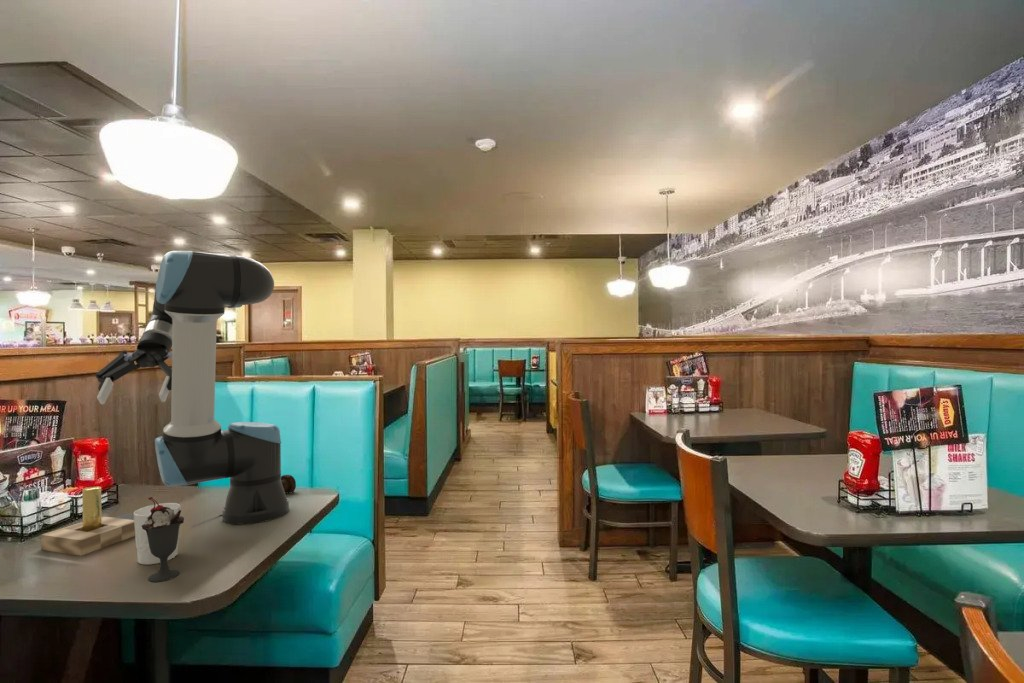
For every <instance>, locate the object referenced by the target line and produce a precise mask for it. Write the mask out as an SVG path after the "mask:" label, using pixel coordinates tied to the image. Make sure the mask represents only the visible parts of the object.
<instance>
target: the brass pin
mask: <svg viewBox="0 0 1024 683" xmlns="http://www.w3.org/2000/svg"><path fill="white" fill-rule="evenodd" d="M81 494H82V522H83V531H84V532H89V531H92V530H95V529H98V528H101V527H102V518H101V516H102V486H90V487H86V488H83V489H82V493H81Z"/></svg>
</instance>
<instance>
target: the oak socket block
mask: <svg viewBox="0 0 1024 683" xmlns="http://www.w3.org/2000/svg"><path fill="white" fill-rule="evenodd" d="M101 518H102V527H101V528H98V529H95V530H92V531H89V532H84V531H83V521H81V522H77V523H74V524H71V525H68V526H64V527H62V528H58V529H55V530H52V531H49V532H46V533H42V534H40V550H42V551H48V552H54V553H62V554H69V555H74V556H83V555H88V554H90V553H92V552H95V551H97V550H98V551H99V550H100V549H103V548H106V547H108V546H111V545H113V544H114V545H115V544H117V543H120V542H123V541H125V540H127V539H131V538H133V537H135V528H134V520H129V519H120V518H113V517H111V516H102V515H101Z"/></svg>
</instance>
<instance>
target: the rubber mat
mask: <svg viewBox="0 0 1024 683" xmlns="http://www.w3.org/2000/svg"><path fill="white" fill-rule="evenodd" d="M112 518H120V519H129V520H134V514H133V513H122V514H120V515H117V516H113V517H112Z"/></svg>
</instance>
